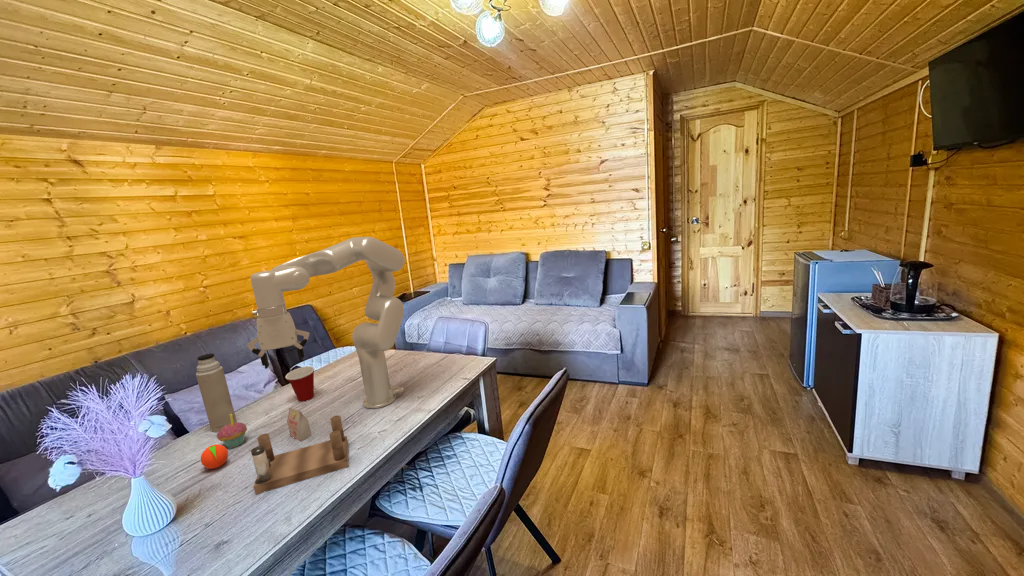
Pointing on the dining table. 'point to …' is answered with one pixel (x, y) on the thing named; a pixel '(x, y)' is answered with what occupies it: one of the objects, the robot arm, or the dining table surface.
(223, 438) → the cupcake
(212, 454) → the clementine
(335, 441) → the stool seat
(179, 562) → the dining table surface
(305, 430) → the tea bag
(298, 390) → the plastic cup
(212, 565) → the dining table surface
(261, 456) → the stool leg
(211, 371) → the thermos bottle
